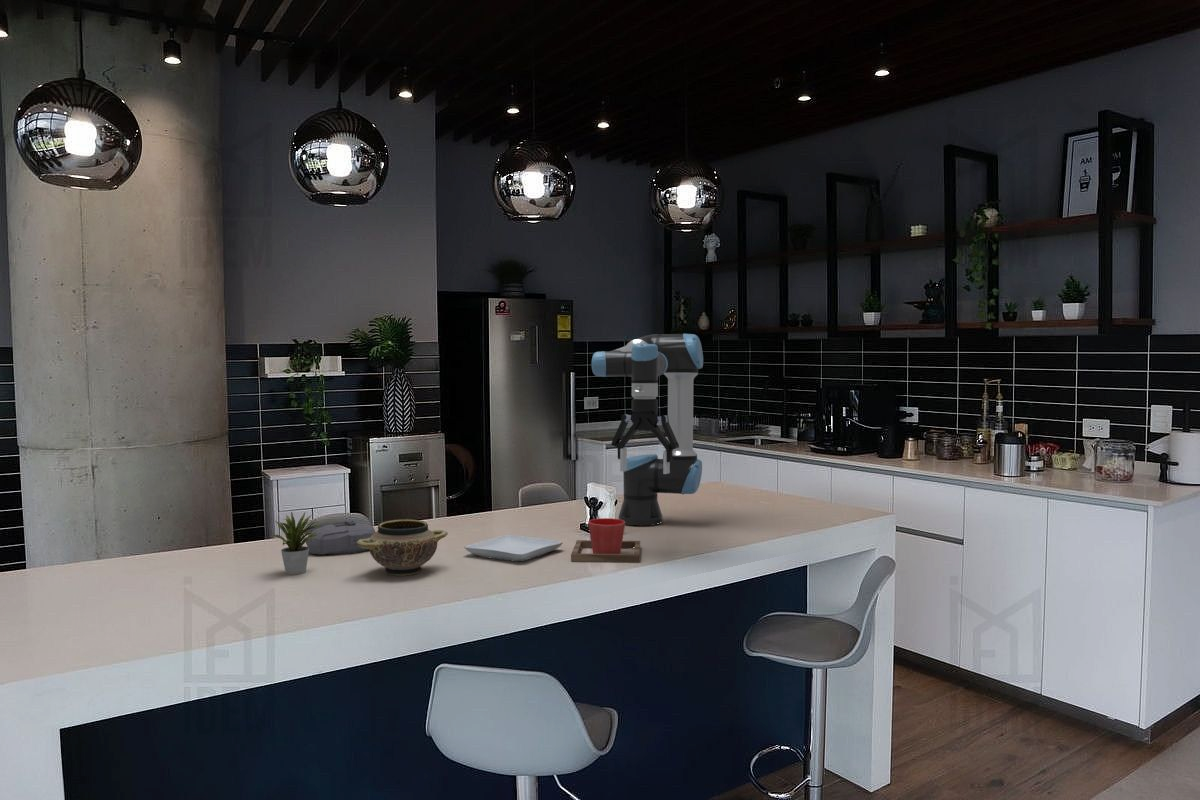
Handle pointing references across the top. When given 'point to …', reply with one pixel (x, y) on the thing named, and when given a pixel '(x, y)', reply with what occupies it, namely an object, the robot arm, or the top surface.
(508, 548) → the salad plate
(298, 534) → the house plant
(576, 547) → the holder frame
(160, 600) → the top surface
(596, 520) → the flower pot
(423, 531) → the ceramic bowl
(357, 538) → the soft grey pack
